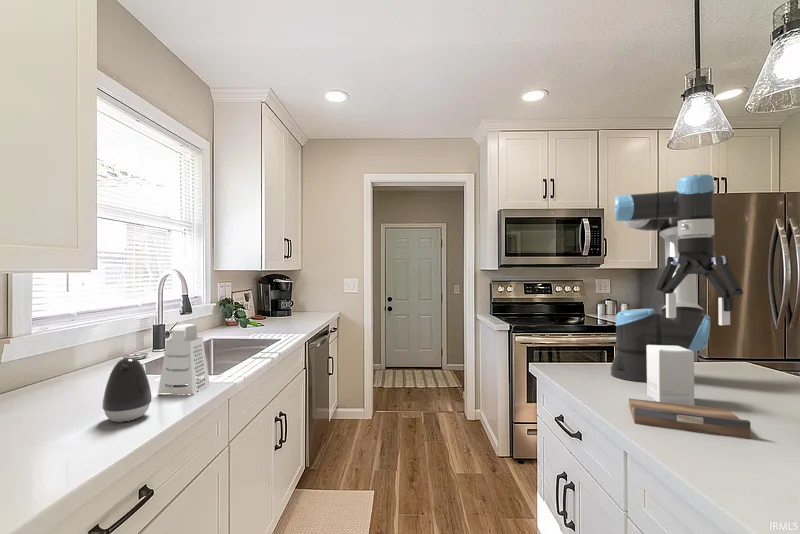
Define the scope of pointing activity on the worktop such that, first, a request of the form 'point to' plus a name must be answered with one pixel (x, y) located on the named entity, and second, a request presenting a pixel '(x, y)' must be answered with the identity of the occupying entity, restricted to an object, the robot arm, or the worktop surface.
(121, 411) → the black egg-shaped figure
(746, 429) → the shelf board
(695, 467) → the worktop surface
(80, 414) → the worktop surface
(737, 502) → the worktop surface
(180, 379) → the grater
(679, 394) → the supplement box
